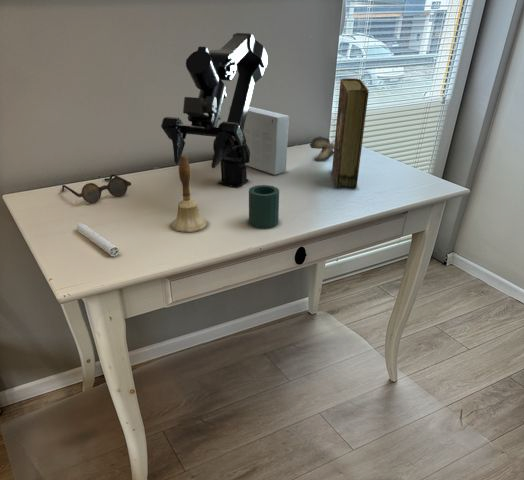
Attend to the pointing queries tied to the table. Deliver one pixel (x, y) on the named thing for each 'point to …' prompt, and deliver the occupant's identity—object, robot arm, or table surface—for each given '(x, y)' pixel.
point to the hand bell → (187, 204)
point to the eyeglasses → (93, 192)
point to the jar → (263, 206)
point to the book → (349, 132)
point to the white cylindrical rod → (97, 239)
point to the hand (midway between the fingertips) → (194, 165)
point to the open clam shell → (323, 148)
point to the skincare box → (266, 140)
